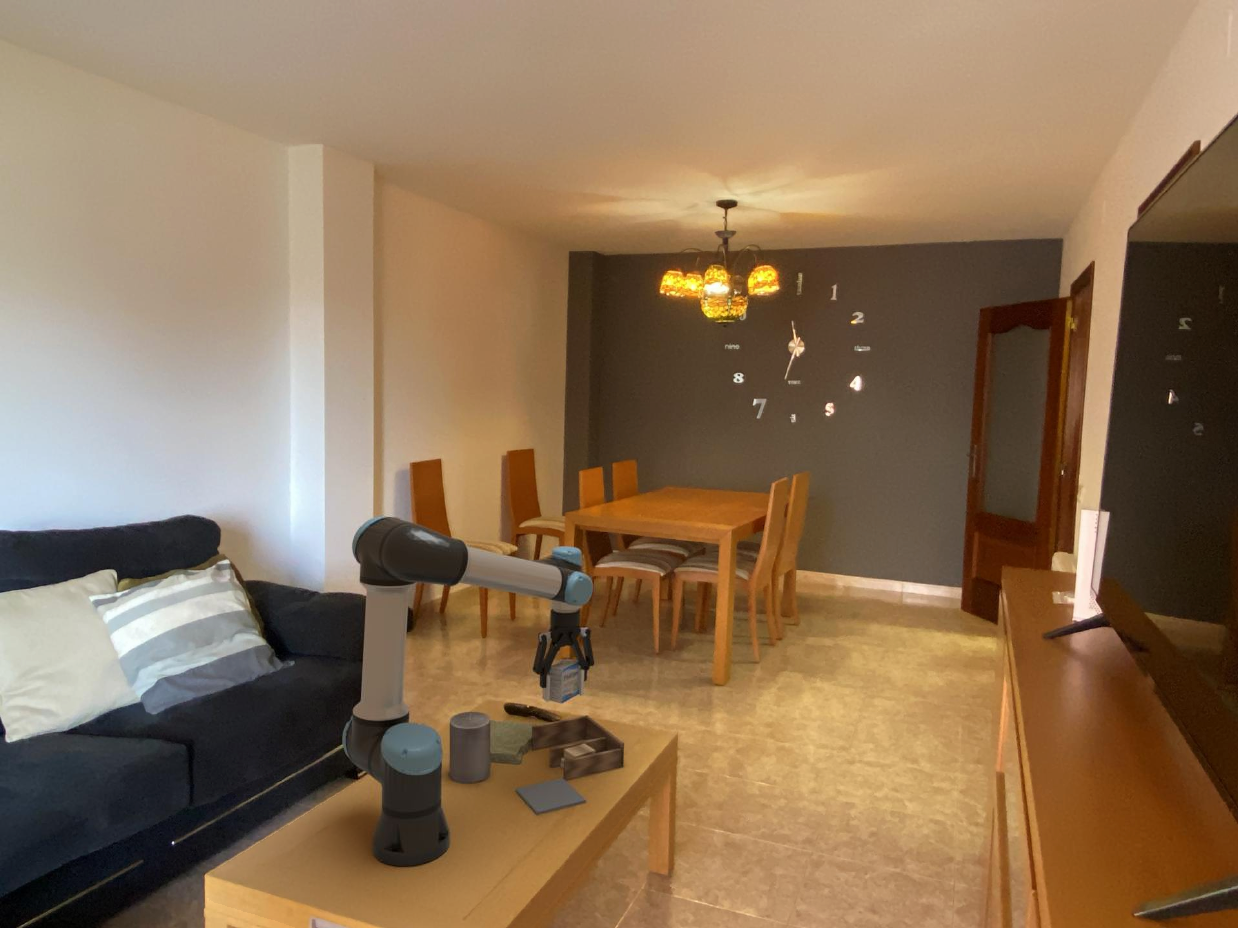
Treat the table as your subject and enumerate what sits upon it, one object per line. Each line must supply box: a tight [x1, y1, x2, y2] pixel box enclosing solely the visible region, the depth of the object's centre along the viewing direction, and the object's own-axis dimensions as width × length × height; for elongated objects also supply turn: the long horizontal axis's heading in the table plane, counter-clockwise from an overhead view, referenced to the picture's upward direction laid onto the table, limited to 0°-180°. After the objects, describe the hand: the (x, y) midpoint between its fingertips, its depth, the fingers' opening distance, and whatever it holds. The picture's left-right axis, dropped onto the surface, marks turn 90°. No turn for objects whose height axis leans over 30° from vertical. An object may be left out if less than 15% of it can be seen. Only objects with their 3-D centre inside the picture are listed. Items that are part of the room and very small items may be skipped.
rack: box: [530, 714, 625, 781], centre depth 210 cm, size 16×20×6 cm
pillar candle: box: [448, 711, 492, 784], centre depth 199 cm, size 10×10×15 cm
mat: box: [515, 777, 587, 816], centre depth 190 cm, size 12×12×1 cm
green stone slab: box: [490, 719, 538, 765], centre depth 216 cm, size 19×20×4 cm
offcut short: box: [564, 743, 595, 760], centre depth 205 cm, size 6×5×2 cm
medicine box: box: [548, 658, 580, 704], centre depth 210 cm, size 8×4×9 cm, turn 150°
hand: (563, 696), depth 210 cm, fingers closed on medicine box, 9 cm apart
